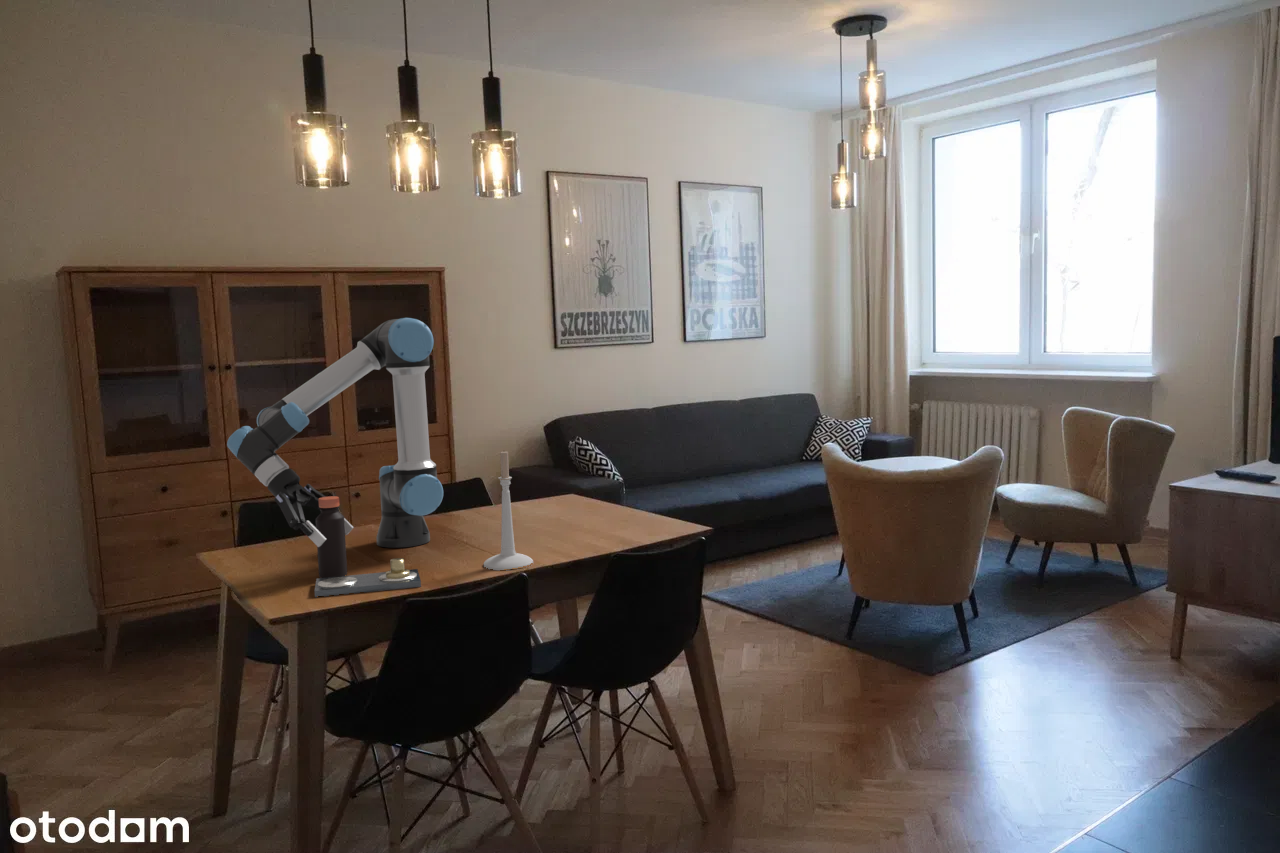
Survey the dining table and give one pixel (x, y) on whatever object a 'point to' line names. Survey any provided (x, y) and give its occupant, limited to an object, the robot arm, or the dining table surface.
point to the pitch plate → (370, 581)
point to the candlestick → (506, 528)
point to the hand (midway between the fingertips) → (336, 537)
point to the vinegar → (331, 539)
